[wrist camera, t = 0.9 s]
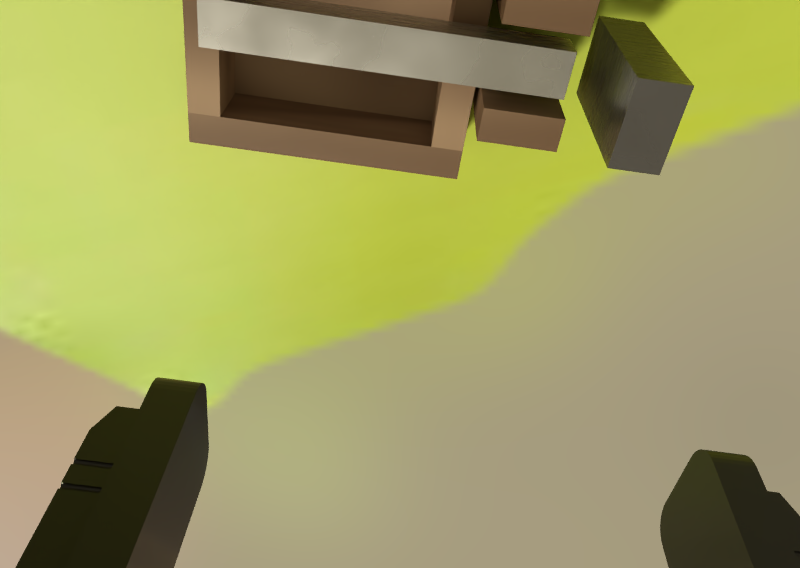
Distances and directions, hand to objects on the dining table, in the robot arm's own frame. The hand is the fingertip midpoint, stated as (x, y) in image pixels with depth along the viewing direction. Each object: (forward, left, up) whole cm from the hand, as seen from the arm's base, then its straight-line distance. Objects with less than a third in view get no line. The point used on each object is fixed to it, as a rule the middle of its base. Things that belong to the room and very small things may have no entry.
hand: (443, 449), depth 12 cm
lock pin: (-1, -1, -18) cm, 18 cm away
